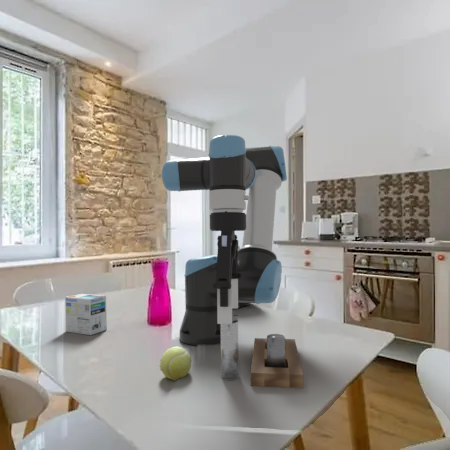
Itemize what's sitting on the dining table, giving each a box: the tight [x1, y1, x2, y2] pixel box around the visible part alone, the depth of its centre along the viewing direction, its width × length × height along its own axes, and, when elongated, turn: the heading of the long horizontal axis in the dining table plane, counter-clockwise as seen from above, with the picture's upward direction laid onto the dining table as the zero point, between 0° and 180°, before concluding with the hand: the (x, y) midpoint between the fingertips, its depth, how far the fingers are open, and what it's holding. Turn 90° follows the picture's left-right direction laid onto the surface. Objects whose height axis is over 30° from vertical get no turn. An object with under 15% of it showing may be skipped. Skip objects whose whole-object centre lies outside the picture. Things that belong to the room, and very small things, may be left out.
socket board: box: [250, 337, 304, 389], centre depth 81 cm, size 10×22×3 cm, turn 173°
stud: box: [220, 313, 239, 381], centre depth 75 cm, size 4×4×13 cm
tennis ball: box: [159, 346, 192, 381], centre depth 76 cm, size 6×7×7 cm
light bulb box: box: [64, 293, 108, 336], centre depth 112 cm, size 11×7×11 cm, turn 65°
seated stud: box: [266, 333, 286, 368], centre depth 76 cm, size 4×4×8 cm
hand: (228, 315), depth 75 cm, fingers open, 13 cm apart
